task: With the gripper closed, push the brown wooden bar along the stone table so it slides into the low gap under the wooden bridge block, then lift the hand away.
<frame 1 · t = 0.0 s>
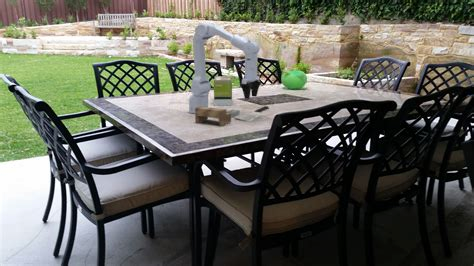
hand: (250, 97, 184), 10 cm above the table, tool pointing down, fingers open, 7 cm apart
kitchen cleaver: (257, 115, 196), on the table
green cabbage: (293, 89, 277), on the table
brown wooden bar: (229, 117, 191), on the table
tea box: (223, 103, 224), on the table
wooden bridge block: (213, 122, 178), on the table
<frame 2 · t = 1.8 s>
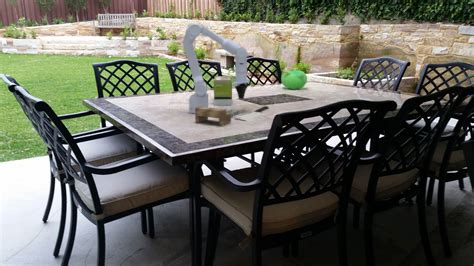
hand: (241, 98, 200), 7 cm above the table, tool pointing down, fingers closed
nothing on the table moved.
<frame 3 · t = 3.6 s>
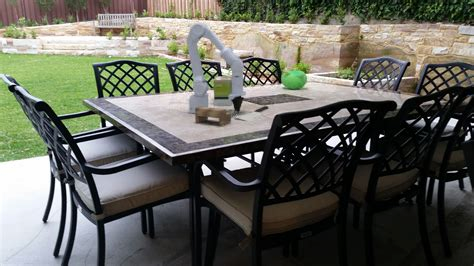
hand: (237, 111, 198), 1 cm above the table, tool pointing down, fingers closed
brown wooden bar: (229, 117, 191), on the table, touching gripper
everything else where it was.
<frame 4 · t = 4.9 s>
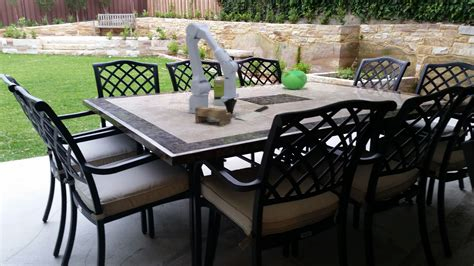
hand: (230, 114, 191), 1 cm above the table, tool pointing down, fingers closed
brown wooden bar: (219, 119, 185), on the table, touching gripper
everything else where it was.
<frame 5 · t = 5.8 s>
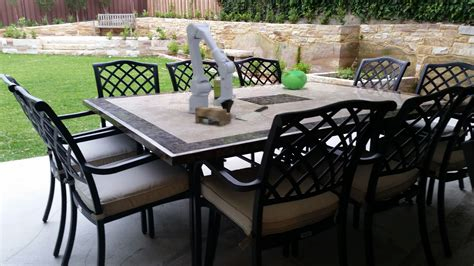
hand: (226, 115, 189), 1 cm above the table, tool pointing down, fingers closed
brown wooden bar: (214, 121, 183), on the table, touching gripper
everything else where it was.
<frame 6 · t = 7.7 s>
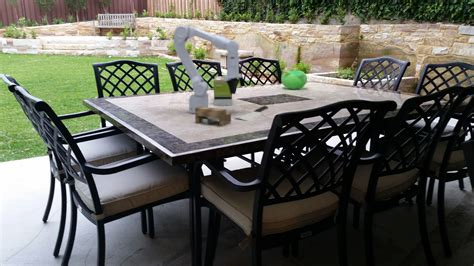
hand: (232, 93, 196), 10 cm above the table, tool pointing down, fingers closed
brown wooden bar: (213, 121, 183), on the table
everything else where it was.
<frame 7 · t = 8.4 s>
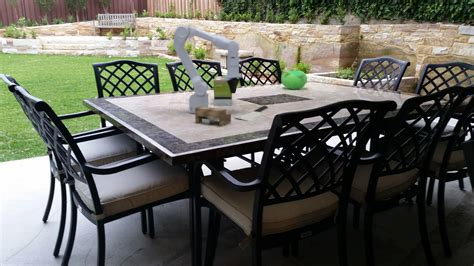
hand: (233, 93, 198), 10 cm above the table, tool pointing down, fingers closed
nothing on the table moved.
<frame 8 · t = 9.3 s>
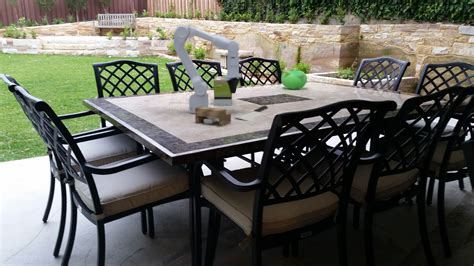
hand: (233, 93, 198), 10 cm above the table, tool pointing down, fingers closed
at the end: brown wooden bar inside the target area (2.8 cm from its centre), on the table; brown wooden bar moved 10.9 cm from its start; the gripper is holding nothing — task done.
